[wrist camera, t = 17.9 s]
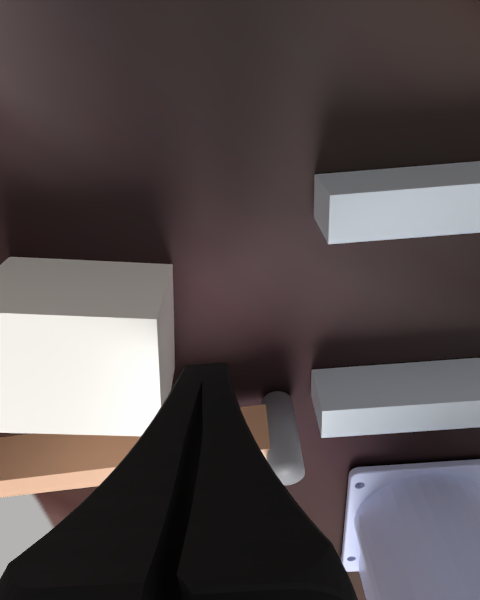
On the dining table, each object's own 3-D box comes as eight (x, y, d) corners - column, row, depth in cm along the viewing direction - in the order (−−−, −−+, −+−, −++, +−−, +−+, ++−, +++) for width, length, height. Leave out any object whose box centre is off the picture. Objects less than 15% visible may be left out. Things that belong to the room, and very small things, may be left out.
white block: (175, 365, 18) (162, 436, 15) (36, 360, 18) (-10, 432, 14) (173, 262, 16) (156, 319, 12) (11, 254, 15) (-52, 311, 12)
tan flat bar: (290, 389, 18) (303, 458, 15) (293, 411, 19) (306, 482, 16) (-64, 434, 19) (-122, 508, 16) (-48, 454, 20) (-102, 529, 17)
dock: (552, 378, 19) (595, 419, 17) (310, 394, 19) (321, 437, 17) (645, 147, 14) (724, 163, 11) (314, 174, 14) (330, 195, 12)
